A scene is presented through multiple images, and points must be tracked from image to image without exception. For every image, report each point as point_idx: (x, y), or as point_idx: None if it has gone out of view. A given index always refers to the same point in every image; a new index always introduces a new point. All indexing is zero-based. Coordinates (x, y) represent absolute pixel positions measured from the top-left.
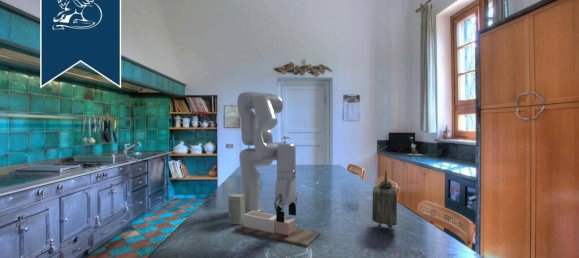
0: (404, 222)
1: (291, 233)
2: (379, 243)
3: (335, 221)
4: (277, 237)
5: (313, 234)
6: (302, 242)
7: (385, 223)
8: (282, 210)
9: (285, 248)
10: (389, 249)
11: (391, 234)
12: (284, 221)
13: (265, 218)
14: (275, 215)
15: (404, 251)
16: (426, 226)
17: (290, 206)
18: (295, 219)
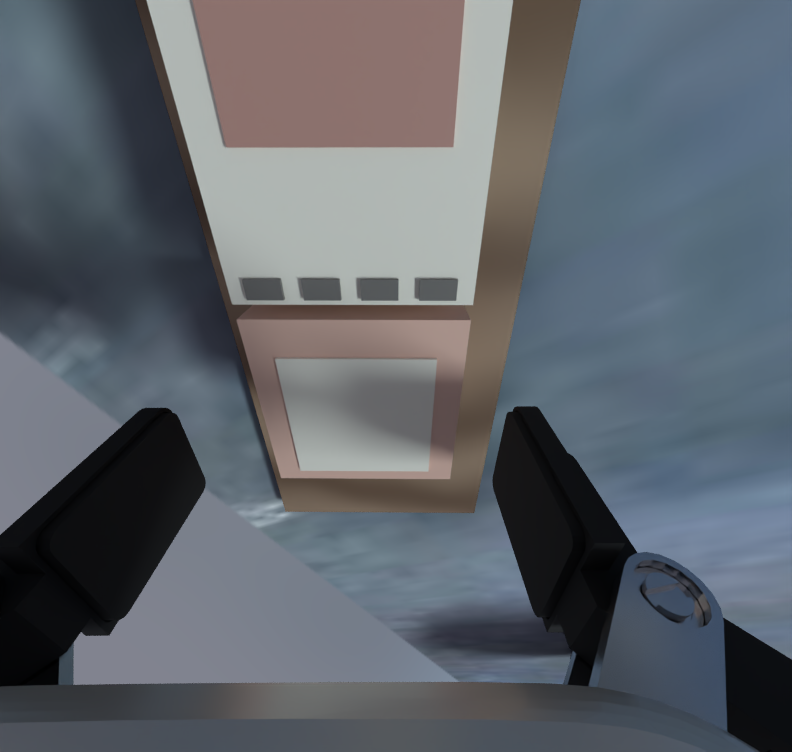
0: None
1: None
2: (482, 639)
3: (744, 508)
4: (239, 333)
5: (437, 496)
6: (294, 487)
7: None
8: (41, 662)
9: (186, 428)
10: (446, 654)
11: (570, 658)
12: (293, 430)
13: (188, 61)
14: (465, 171)
15: (450, 669)
16: None
17: (551, 550)
18: (442, 474)
